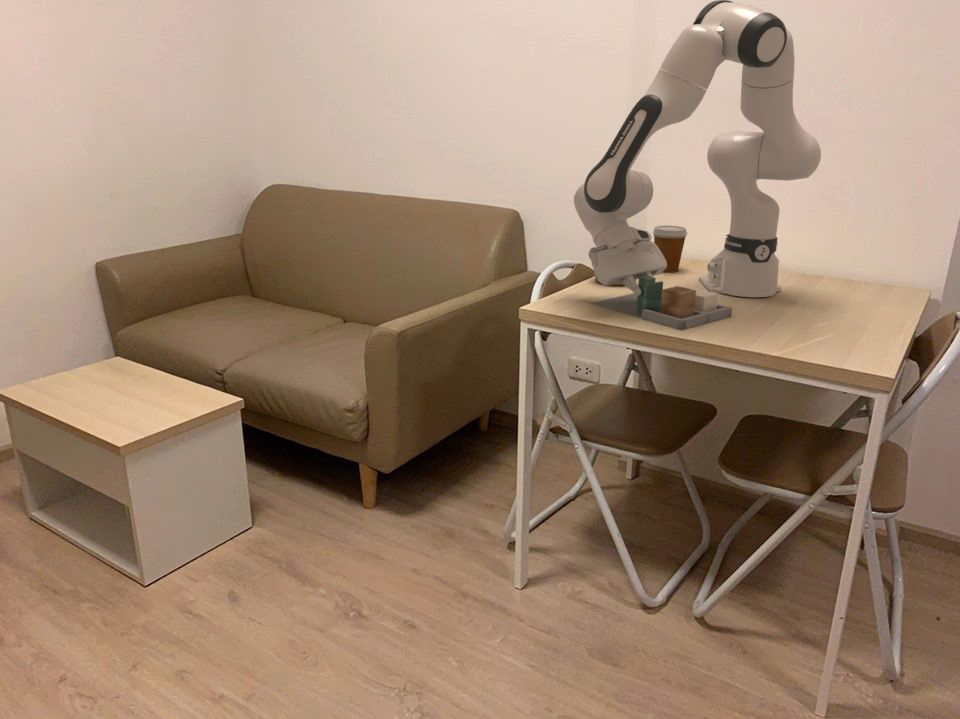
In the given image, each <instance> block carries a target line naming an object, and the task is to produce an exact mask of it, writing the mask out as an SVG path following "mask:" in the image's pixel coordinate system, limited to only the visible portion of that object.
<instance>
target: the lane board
mask: <svg viewBox="0 0 960 719" xmlns="http://www.w3.org/2000/svg"><path fill="white" fill-rule="evenodd" d="M661 303H662V302H661ZM588 304H590V305H593V306H595V307H596V306H597V307H600V308H603V309H606V310H610V311H614V312H616V313H617V312H618V313H619V314H620V313H621V314H624V315H627V316H631V317H634V318H638V319H641V320H644V321H648V322H651V323H654V324H659V325H661V326H665V327H669V328H672V329H676V330H678V331H684V330H688V329H692V328H695V327H699V326H703V325H707V324H709V323H714V322H717V321H720V320H725V319H728V318H732V313H733V307H731V306H728V305H723V304H719V303H717V310H713V311H709V312H701V311H698V310H694V316H690V317H687V318H683V319H680V318H677V317H673V316H670V315H666V314H662V313H659V312H655V311H652V310H648V309H643V310H642V313H639V312H636V309H637V297H636V296H635V294H634V292H633V293H629V294H625V295H620V296H616V297H612V298H610V297H609V298H607V299H602V300H598V301H593V302H589V303H588Z"/></svg>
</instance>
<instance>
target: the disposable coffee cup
mask: <svg viewBox="0 0 960 719" xmlns="http://www.w3.org/2000/svg"><path fill="white" fill-rule="evenodd" d="M652 233H653V235H652V236H653V242H654V243H655V244H656V245H657V246H658V248H659V249H660V251H661V253H662V254H663V256H664V258H665V259H666V262H667V268H666V269H665V270H664V271H663V272H662V273H676V272H678V271H679V267H680V263H681V259H682V253H683V250H684V244H685V240H686V237H687V236H688V232H687V228H686V227H683V226H677V225H657V226H655V227H654V229H653V231H652Z"/></svg>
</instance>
